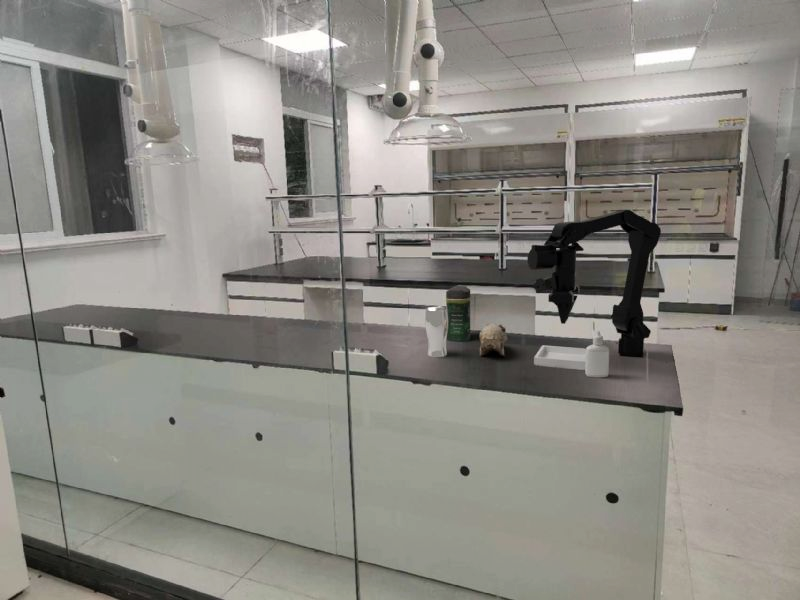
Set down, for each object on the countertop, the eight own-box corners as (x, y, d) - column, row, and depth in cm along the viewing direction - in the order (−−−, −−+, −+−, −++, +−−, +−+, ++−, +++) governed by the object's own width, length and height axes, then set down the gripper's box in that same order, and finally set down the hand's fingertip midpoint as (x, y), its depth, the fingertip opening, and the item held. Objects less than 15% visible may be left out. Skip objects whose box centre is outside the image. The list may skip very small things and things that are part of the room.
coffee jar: (467, 344, 178) (467, 288, 174) (444, 343, 180) (443, 288, 177) (472, 337, 187) (472, 284, 184) (450, 336, 189) (449, 284, 186)
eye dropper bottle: (605, 379, 139) (606, 334, 137) (583, 376, 142) (584, 331, 140) (610, 375, 142) (611, 330, 140) (588, 371, 146) (590, 328, 144)
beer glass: (451, 354, 167) (450, 306, 164) (445, 360, 160) (444, 310, 158) (429, 353, 169) (428, 305, 166) (423, 359, 162) (422, 310, 160)
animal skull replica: (511, 348, 172) (512, 317, 170) (503, 363, 156) (503, 329, 154) (486, 347, 174) (486, 316, 173) (475, 361, 159) (475, 328, 157)
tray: (590, 356, 160) (590, 348, 159) (586, 370, 147) (586, 361, 147) (542, 352, 165) (542, 345, 165) (533, 365, 153) (534, 357, 152)
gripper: (541, 263, 163) (540, 314, 166) (529, 271, 146) (529, 327, 149) (580, 264, 159) (579, 316, 161) (572, 272, 142) (571, 330, 145)
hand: (564, 322), depth 154 cm, fingers open, 3 cm apart
